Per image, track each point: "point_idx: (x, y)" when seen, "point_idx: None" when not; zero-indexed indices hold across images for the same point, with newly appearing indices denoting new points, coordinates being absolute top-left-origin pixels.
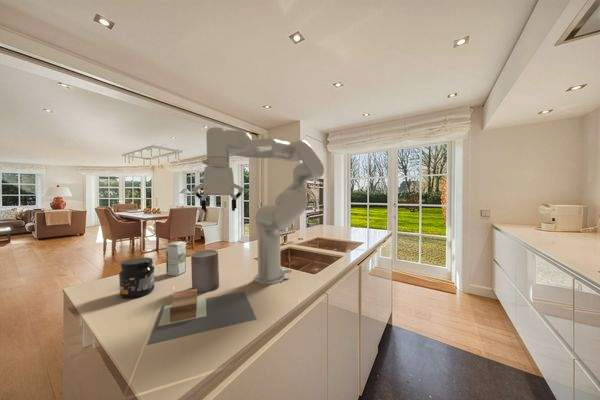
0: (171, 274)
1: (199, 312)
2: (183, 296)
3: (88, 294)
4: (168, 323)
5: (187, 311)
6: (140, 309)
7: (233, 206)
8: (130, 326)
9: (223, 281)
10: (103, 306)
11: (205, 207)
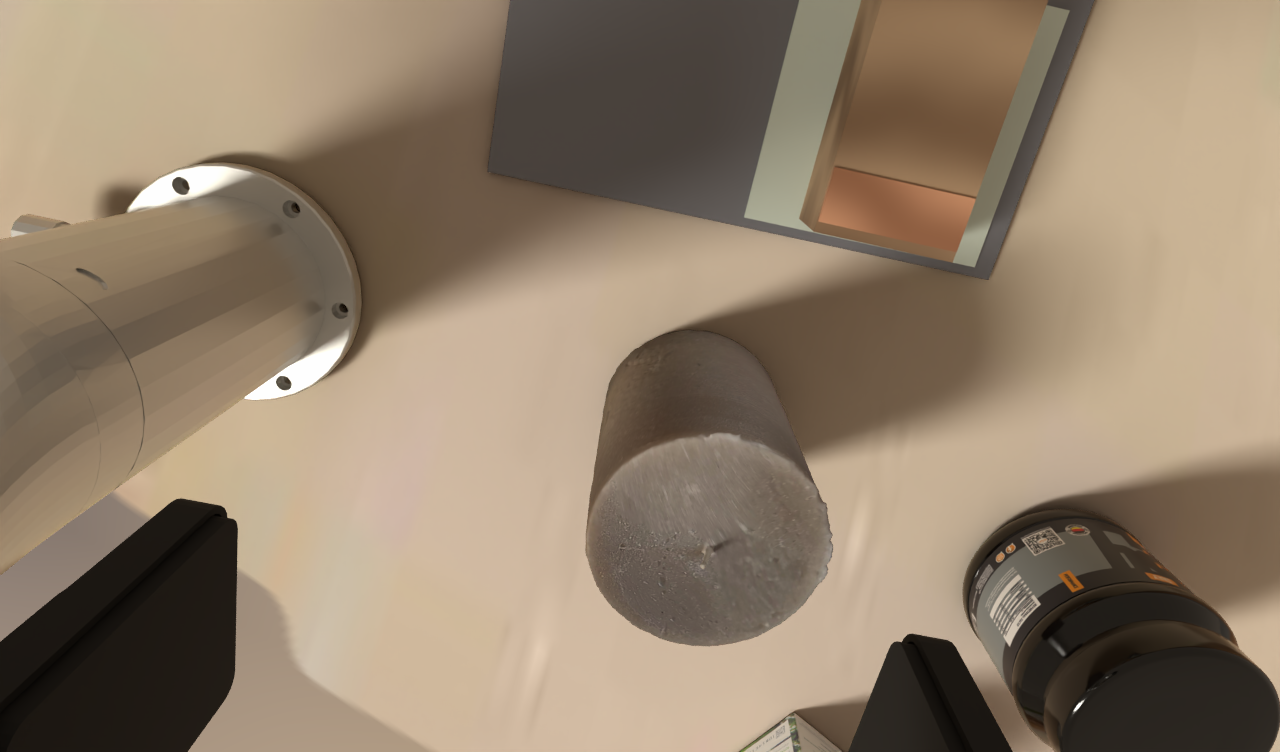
0: (827, 742)
1: (834, 28)
2: (926, 146)
3: None
4: None
5: None
6: (1082, 329)
7: (143, 564)
8: (1168, 138)
9: (559, 450)
10: (1222, 493)
11: (955, 711)
